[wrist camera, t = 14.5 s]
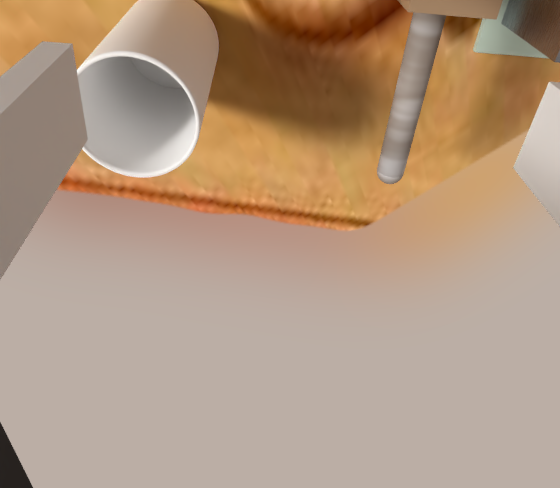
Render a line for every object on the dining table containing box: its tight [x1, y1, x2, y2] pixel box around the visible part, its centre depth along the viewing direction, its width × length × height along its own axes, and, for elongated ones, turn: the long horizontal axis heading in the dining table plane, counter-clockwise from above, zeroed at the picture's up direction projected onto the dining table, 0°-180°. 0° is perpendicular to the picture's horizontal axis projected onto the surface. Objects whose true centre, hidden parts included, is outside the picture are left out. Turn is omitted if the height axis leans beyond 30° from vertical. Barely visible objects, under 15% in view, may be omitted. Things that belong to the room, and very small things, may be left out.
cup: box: [77, 0, 219, 177], centre depth 37 cm, size 8×8×16 cm
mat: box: [473, 0, 548, 58], centre depth 42 cm, size 9×9×1 cm
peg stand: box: [377, 0, 503, 184], centre depth 36 cm, size 19×7×16 cm, turn 175°
